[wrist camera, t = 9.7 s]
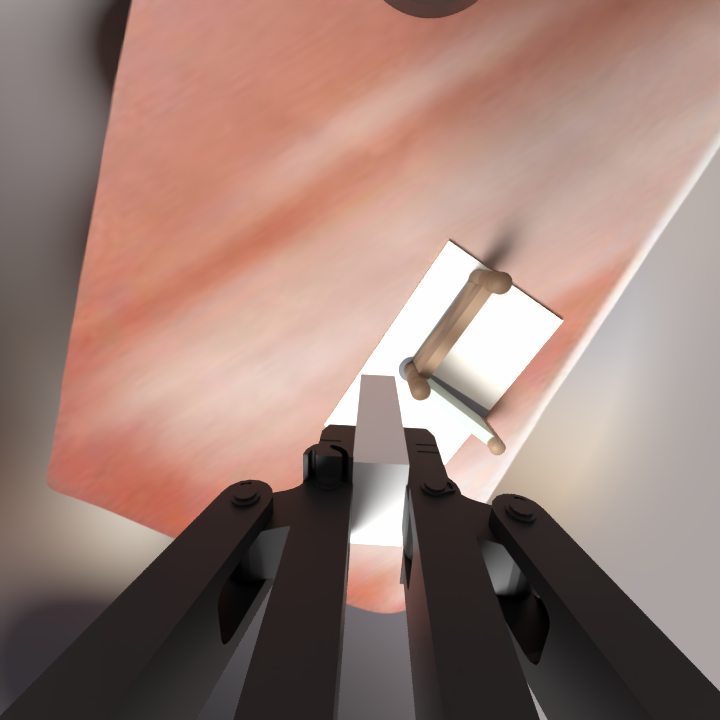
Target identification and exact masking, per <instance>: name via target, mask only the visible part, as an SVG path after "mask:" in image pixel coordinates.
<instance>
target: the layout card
mask: <svg viewBox="0 0 720 720" xmlns="http://www.w3.org/2000/svg"><path fill="white" fill-rule="evenodd" d="M477 269H481V270H489V271H491V270H490V269H489V268H487V267H486V266H484V265H483V264H482V263H480V262H479V261H477V260H476V259H474V258H473V257H472V256H470V255H469V254H467V253H466V252H464V251H463V250H462V249H460V248H459V247H457V246H456V245H454V244H453V243H452V242H450V241H448V242H447V243H446V245H445V246H444V248H443V249H442V251H441V252H440V254H439V255H438V257H437V258H436V260H435V261H434V263H433V264H432V266H431V267H430V269H429V270H428V272H427V273H426V274H425V276H424V277H423V279H422V280H421V282H420V283H419V285H418V286H417V288H416V289H415V291H414V292H413V294H412V295H411V297H410V298H409V300H408V301H407V303H406V304H405V306H404V307H403V309H402V310H401V311H400V313H399V314H398V316H397V317H396V319H395V320H394V322H393V323H392V325H391V326H390V328H389V329H388V331H387V332H386V334H385V335H384V337H383V338H382V340H381V341H380V343H379V344H378V346H377V347H376V349H375V350H374V351H373V353H372V354H371V356H370V357H369V359H368V360H367V362H366V363H365V365H364V366H363V368H362V369H361V371H360V372H359V374H358V375H357V377H356V378H355V380H354V381H353V383H352V384H351V386H350V387H349V389H348V390H347V391H346V393H345V394H344V396H343V397H342V399H341V400H340V402H339V403H338V405H337V406H336V408H335V409H334V411H333V412H332V414H331V415H330V417H329V418H328V420H327V421H326V423H325V426H328V425H329V424H337V425H355V426H356V421H357V410H358V400H359V390H360V379H361V374H368V375H387V376H395V380H396V386H397V392H398V398H399V404H400V410H401V416H402V422H403V427H408V428H426V429H428V430H429V431H430V432H431V433H432V434H433V435H434V436H435V439H436V442H437V447H438V448H439V451H440V455H441V458H442V461H443V464H444V465H445V464H446V463H447V462H448V461H449V459H450V458H451V457H452V456H453V455H454V453H455V452H456V451H457V450H458V448H459V447H460V446H461V445H462V444H463V442H464V441H465V440H466V439H467V438H468V436H469V435H470V434H471V432H470V431H468V430H467V429H466V428H464V427H463V426H462V425H460V424H459V423H458V422H456V421H455V420H454V419H452V418H451V417H450V416H448V415H447V414H446V413H444V412H443V411H442V410H440V409H439V408H438V407H436V406H435V405H434V404H432V403H431V402H430V401H428V400H427V399H426V400H423V401H418V400H415V399H414V398H413V397H412V395H411V393H410V389H409V386H408V383H407V380H406V377H405V374H404V367H405V365H406V364H407V363H409V362H413V360H414V358H415V357H416V355H417V354H418V353H419V351H420V350H421V348H422V347H423V346H424V344H425V343H426V341H427V340H428V339H429V337H430V336H431V334H432V333H433V332H434V330H435V329H436V327H437V326H438V325H439V323H440V322H441V320H442V319H443V318H444V316H445V315H446V313H447V312H448V311H449V309H450V308H451V306H452V305H453V304H454V302H455V301H456V299H457V298H458V297H459V295H460V294H461V292H462V291H463V290H464V288H465V287H466V285H467V284H468V283H469V279H468V278H469V275H470V273H471V272H472V271H474V270H477ZM562 322H563V320H561V319H560V318H558V317H557V316H556V315H554V314H553V313H551V312H550V311H548V310H547V309H546V308H544V307H543V306H541V305H540V304H538V303H537V302H536V301H534V300H533V299H531V298H530V297H528V296H527V295H526V294H524V293H523V292H521V291H520V290H519V289H517V288H516V287H514V286H513V285H512V286H511V288H510V290H509V291H508V292H507V293H505V294H502V295H498V294H494V293H492V295H491V296H490V297H489V299H488V300H487V301H486V303H485V304H484V305H483V307H482V308H481V309H480V311H479V312H478V313H477V315H476V316H475V317H474V319H473V320H472V322H471V323H470V324H469V326H468V327H467V328H466V330H465V331H464V332H463V334H462V335H461V336H460V338H459V339H458V340H457V342H456V343H455V344H454V346H453V347H452V348H451V350H450V351H449V352H448V354H447V355H446V357H445V358H444V359H443V361H442V362H441V363H440V365H439V366H438V367H437V369H436V370H435V371H434V373H433V374H432V375H431V377H430V378H431V379H432V380H433V381H435V382H436V383H437V384H439V385H440V386H441V387H443V388H444V389H445V390H447V391H448V392H449V393H450V394H452V395H453V396H454V397H456V398H457V399H458V400H460V401H461V402H462V403H463V404H465V405H466V406H467V407H469V408H470V409H471V410H473V411H474V412H475V413H477V414H478V415H479V416H480V417H484V418H485V416H486V415H487V414H488V413H489V411H490V410H491V408H492V407H493V406H494V405H495V403H496V402H497V401H498V400H499V399H500V397H501V396H502V395H503V394H504V393H505V391H506V390H507V389H508V388H509V386H510V385H511V384H512V383H513V382H514V380H515V379H516V378H517V377H518V375H519V374H520V373H521V372H522V371H523V369H524V368H525V367H526V366H527V365H528V363H529V362H530V361H531V360H532V358H533V357H534V356H535V355H536V354H537V352H538V351H539V350H540V349H541V348H542V346H543V345H544V344H545V343H546V341H547V340H548V339H549V338H550V337H551V335H552V334H553V333H554V332H555V331H556V329H557V328H558V327H559V326H560V324H561V323H562Z"/></svg>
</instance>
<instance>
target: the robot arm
mask: <svg viewBox="0 0 720 720" xmlns="http://www.w3.org/2000/svg"><path fill="white" fill-rule="evenodd" d="M384 1H385V2H387V3H388V4H389V5H391V6H392V7H394V8H395V9H397V10H399V11H401V12H403V13H406V14H408V15H412V16H415V17H421V18H438V17H444V16H448V15H452V14H454V13H457V12H459V11H461V10H464V9H465V8H467V7H469V6H470V5H472V4H473V3H475V2H476V1H477V0H384ZM402 536H403V546H404V548H403V558H402V567H401V577H400V584H404V591H405V603H406V614H407V626H408V637H409V649H410V661H411V672H412V683H413V695H414V707H415V718H416V720H540V719H539V716H538V713H537V710H536V707H535V704H534V702H533V699H532V696H531V693H530V690H529V687H528V685H529V686H530V688H531V690H532V692H533V694H534V695H535V697H536V699H537V701H538V703H539V705H540V706H541V708H542V710H543V712H544V714H545V716H546V717H547V719H548V720H720V691H719V690H718V689H717V688H716V687H715V686H714V685H713V684H712V683H711V682H710V681H709V680H708V679H707V678H706V677H705V676H704V675H703V674H702V673H701V671H700V670H699V669H698V668H697V667H696V666H695V665H694V664H693V663H692V662H691V661H690V660H689V659H688V658H687V657H686V656H685V655H684V654H683V653H682V652H681V651H680V650H679V649H678V648H677V647H676V646H675V645H674V644H673V642H672V641H671V640H670V639H669V638H668V637H667V636H666V635H665V634H664V633H663V632H662V631H661V630H660V629H659V628H658V627H657V626H656V625H655V624H654V623H653V622H652V621H651V620H650V619H649V618H648V617H647V616H646V614H644V612H643V611H642V610H641V609H640V608H639V607H638V606H637V605H636V604H635V603H634V602H633V601H632V600H631V599H630V598H629V597H628V596H627V595H626V594H625V593H624V592H623V591H622V590H621V589H620V588H619V587H618V585H617V584H616V583H615V582H614V581H613V580H612V579H611V578H610V577H609V576H608V575H607V574H606V573H605V572H604V571H603V570H602V569H601V568H600V567H599V566H598V565H597V564H596V563H595V562H594V561H593V560H592V559H591V557H589V555H588V554H587V553H586V552H585V551H584V550H583V549H582V548H581V547H580V546H579V545H578V544H577V543H576V542H575V541H574V540H573V539H572V538H571V537H570V536H569V535H568V534H567V533H566V532H565V531H564V530H563V528H561V527H560V525H559V524H558V523H557V522H556V521H555V520H554V519H553V518H552V517H551V516H550V515H549V514H548V513H547V512H546V511H545V510H544V509H543V508H542V507H541V506H539V505H538V504H537V503H536V502H534V501H532V500H530V499H528V498H526V497H523V496H519V495H515V494H502V495H499V496H497V497H496V498H495V499H494V500H493V501H492V505H488V504H485V503H481V502H478V501H475V500H472V499H469V498H467V497H465V496H463V495H461V492H460V490H459V488H458V486H457V485H456V483H454V482H453V481H452V480H450V479H449V478H448V476H447V473H446V470H445V467H444V464H443V461H442V458H441V455H440V451H439V448H438V447H437V442H436V439H435V436H434V435H433V434H432V433H431V432H430V431H429V430H428V429H426V428H408V427H403V422H402V416H401V410H400V404H399V398H398V392H397V386H396V380H395V376H387V375H368V374H361V379H360V390H359V400H358V410H357V421H356V426H355V425H337V424H329V425H328V426H327V427H326V428H325V429H324V430H323V431H322V433H321V437H320V441H319V444H315V445H313V446H311V447H309V448H308V449H307V450H306V451H305V452H304V454H303V484H301V485H300V486H298V487H295V488H293V489H290V490H286V491H280V492H274V493H273V492H272V488H271V487H270V486H269V485H268V484H267V483H265V482H262V481H259V480H246V481H240V482H238V483H235V484H233V485H230V486H229V487H228V488H226V489H225V490H224V491H223V492H222V493H221V494H220V495H219V496H218V497H217V498H216V499H215V500H214V501H213V502H212V503H211V504H210V505H209V506H208V507H207V508H206V509H205V510H204V511H203V512H202V513H201V514H200V515H199V516H198V517H197V518H196V519H195V520H194V521H193V522H192V523H191V524H190V525H189V526H188V527H187V528H186V529H185V530H184V531H183V532H182V533H181V534H180V535H179V536H178V537H177V538H176V539H175V540H174V541H173V542H172V543H171V544H170V545H169V546H168V547H167V548H166V549H165V550H164V551H163V552H162V553H161V554H160V555H159V556H158V557H157V558H156V559H155V560H154V561H153V562H152V563H151V564H150V565H149V566H148V567H147V568H146V569H145V570H144V571H143V572H142V574H140V575H139V576H138V577H137V578H136V579H135V580H134V581H133V582H132V583H131V585H129V586H128V587H127V588H126V589H125V590H124V591H123V592H122V593H121V594H120V595H119V597H117V599H116V600H115V601H114V602H113V603H112V604H111V605H110V606H109V607H108V608H107V609H106V610H105V611H104V612H103V613H102V614H101V615H100V616H99V617H98V618H97V619H96V620H95V621H94V622H93V623H92V624H91V625H90V626H89V627H88V628H87V629H86V630H85V631H84V632H83V633H82V634H81V635H80V636H79V637H78V638H77V639H76V640H75V641H74V642H73V643H72V644H71V645H70V646H69V647H68V648H67V649H66V650H65V651H64V652H63V653H62V654H61V655H60V656H59V657H58V658H57V659H56V660H55V661H54V662H53V663H52V664H51V665H50V666H49V667H48V668H47V669H46V670H45V671H44V672H43V673H42V675H40V676H39V677H38V678H37V679H36V680H35V681H34V682H33V683H32V684H31V685H30V686H29V687H28V688H27V689H26V690H25V692H23V693H22V694H21V695H20V696H19V698H17V699H16V701H15V702H14V703H13V704H11V705H10V707H9V708H8V709H7V710H6V711H5V712H4V713H3V714H2V715H1V716H0V720H196V719H197V717H198V715H199V713H200V712H201V710H202V708H203V706H204V705H205V703H206V701H207V699H208V698H209V696H210V694H211V692H212V690H213V689H214V687H215V685H216V683H217V682H218V680H219V678H220V676H221V675H222V673H223V671H224V669H225V668H226V666H227V664H228V662H229V660H230V659H231V657H232V655H233V653H234V652H235V650H236V648H237V646H238V645H239V643H240V641H241V639H242V638H243V636H244V634H245V632H246V630H247V629H248V627H249V625H250V623H251V621H252V620H253V618H254V616H255V615H256V612H257V611H258V609H259V608H260V606H261V604H262V602H263V600H264V599H265V597H266V595H267V593H268V592H269V589H270V588H271V586H272V585H273V587H272V590H271V593H270V597H269V600H268V604H267V607H266V611H265V614H264V617H263V621H262V624H261V628H260V631H259V634H258V638H257V641H256V645H255V648H254V651H253V655H252V658H251V662H250V665H249V668H248V672H247V675H246V679H245V682H244V686H243V689H242V692H241V696H240V699H239V703H238V706H237V709H236V713H235V716H234V720H337V719H338V705H339V692H340V678H341V664H342V651H343V636H344V624H345V610H346V597H347V583H348V570H349V554H350V543H358V544H374V545H389V546H401V544H402ZM527 683H528V685H527Z"/></svg>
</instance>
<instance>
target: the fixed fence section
mask: <svg viewBox="0 0 720 720" xmlns="http://www.w3.org/2000/svg"><path fill="white" fill-rule="evenodd" d="M468 279H469V283H468V284H467V285H466V287H465V288H464V290H463V291H462V292H461V294H460V295H459V297H458V298H457V299H456V301H455V302H454V304H453V305H452V306H451V308H450V309H449V311H448V312H447V313H446V315H445V316H444V318H443V319H442V320H441V322H440V323H439V325H438V326H437V327H436V329H435V330H434V332H433V333H432V334H431V336H430V337H429V339H428V340H427V341H426V343H425V344H424V346H423V347H422V348H421V350H420V351H419V353H418V354H417V355H416V357H415V358H414V360H413V362H409V363H407V364H406V365H405V367H404V374H405V377H406V380H407V383H408V386H409V389H410V393H411V395H412V397H413V398H414V399H415V400H418V401H423V400H426V399H427V398H428V397H429V396H430V393H431V389H430V386H429V384H428V382H427V380H426V379H429V378H430V377H431V375H432V374H433V373H434V371H435V370H436V369H437V367H438V366H439V365H440V363H441V362H442V361H443V359H444V358H445V357H446V355H447V354H448V352H449V351H450V350H451V348H452V347H453V346H454V344H455V343H456V342H457V340H458V339H459V338H460V336H461V335H462V334H463V332H464V331H465V330H466V328H467V327H468V326H469V324H470V323H471V322H472V320H473V319H474V317H475V316H476V315H477V313H478V312H479V311H480V309H481V308H482V307H483V305H484V304H485V303H486V301H487V300H488V299H489V297H490V296H491V295H492V293H494V294H498V295H502V294H505V293H507V292H508V291H509V290H510V288H511V286H512V278H511V276H510V275H509V274H508V273H505V272H497V271H489V270H481V269H477V270H474V271H472V272H471V273H470V275H469V278H468Z"/></svg>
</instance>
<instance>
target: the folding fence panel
mask: <svg viewBox="0 0 720 720" xmlns="http://www.w3.org/2000/svg"><path fill="white" fill-rule="evenodd" d="M426 380H427V382H428V384H429V386H430V389H431V393H430V396H429V397H428V398H427V400H428V401H430V402H431V403H432V404H434V405H435V406H436V407H438V408H439V409H440V410H442V411H443V412H444V413H446V414H447V415H448V416H450V417H451V418H452V419H454V420H455V421H456V422H458V423H459V424H460V425H462V426H463V427H464V428H466V429H467V430H468V431H470V432H471V433H472V434H474V435H475V436H476V437H478V438H479V439H480V440H482V441H483V442H484V443H486V445H487V446H488V448H489V449H490V451H491V453H492V454H494V455H500V454H502V453H504V451H505V449H506V447H505V444H504V443H503V442H502V440H501V439H500V438H499V436H498V435H497V433H496V432H495V431H494V429H493V428H492V427H491V425H490V424H489V422H488V421H487V420H486V418H484V417H480V416H479V415H478V414H477V413H475V412H474V411H473V410H471V409H470V408H469V407H467V406H466V405H465V404H463V403H462V402H461V401H460V400H458V399H457V398H456V397H454V396H453V395H452V394H450V393H449V392H448V391H447V390H445V389H444V388H443V387H441V386H440V385H439V384H437V383H436V382H435V381H433V380H432V379H431V378H429V379H426Z"/></svg>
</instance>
